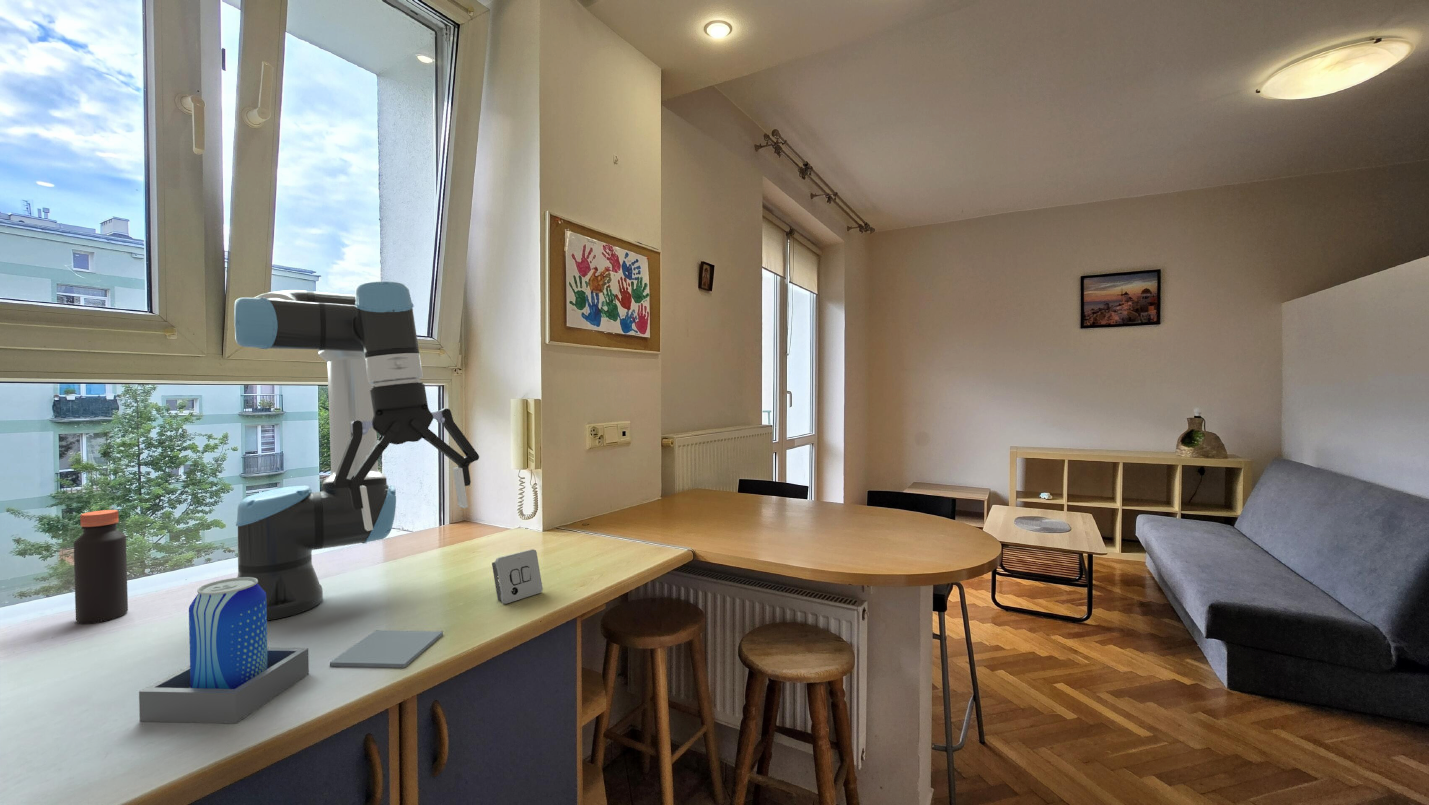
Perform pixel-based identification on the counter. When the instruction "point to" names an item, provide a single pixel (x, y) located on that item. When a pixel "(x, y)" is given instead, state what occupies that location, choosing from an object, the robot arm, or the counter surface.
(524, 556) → the electrical switch
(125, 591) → the bottle
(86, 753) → the counter surface
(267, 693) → the grey storage bin
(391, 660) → the coaster mat
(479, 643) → the counter surface
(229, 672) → the beer can
